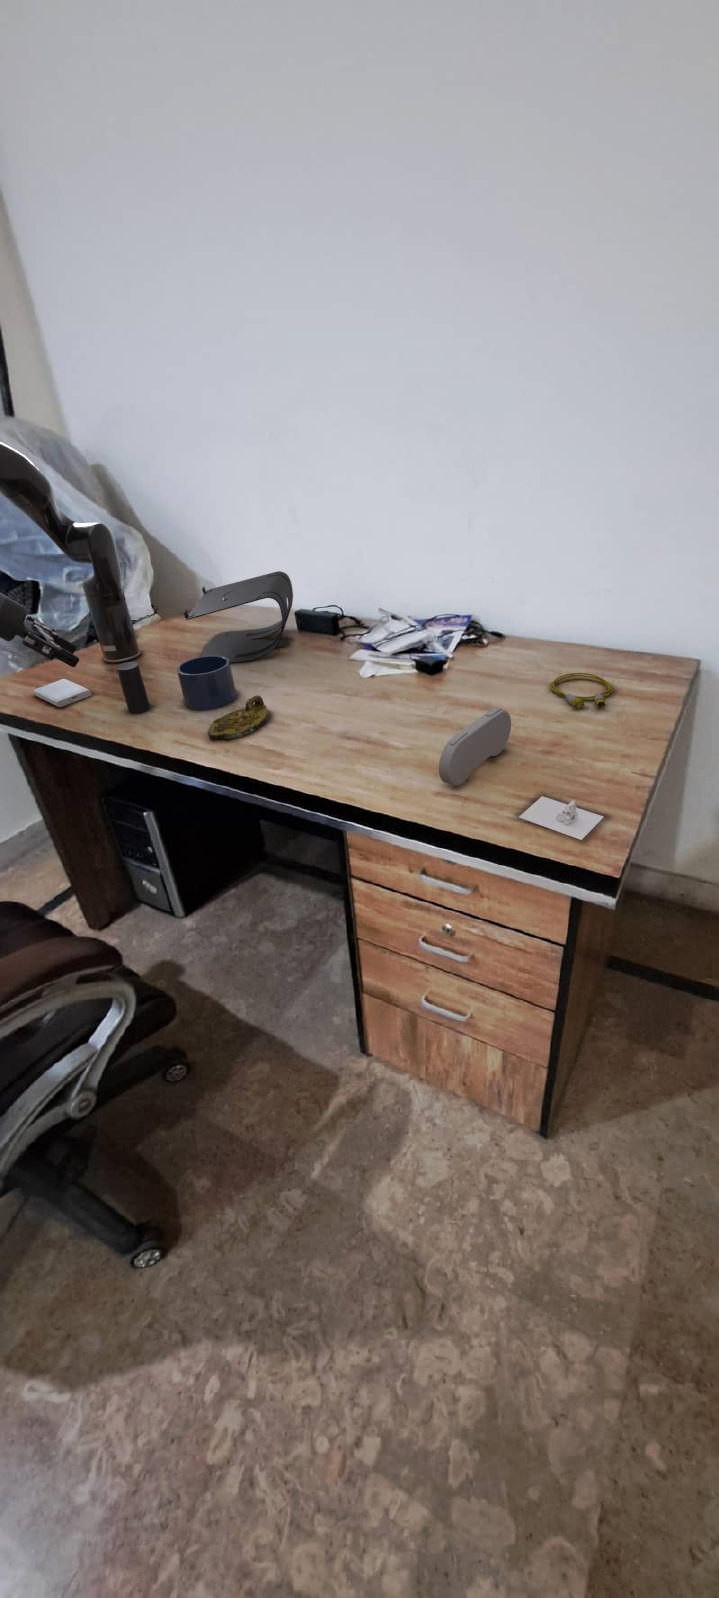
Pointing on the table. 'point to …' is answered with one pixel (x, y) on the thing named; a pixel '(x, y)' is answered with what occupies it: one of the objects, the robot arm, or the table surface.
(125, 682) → the canister
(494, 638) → the table surface
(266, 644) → the laptop stand
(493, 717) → the game controller
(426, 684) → the table surface
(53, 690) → the hard drive
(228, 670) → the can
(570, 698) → the extension cord
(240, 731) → the bronze pendant
